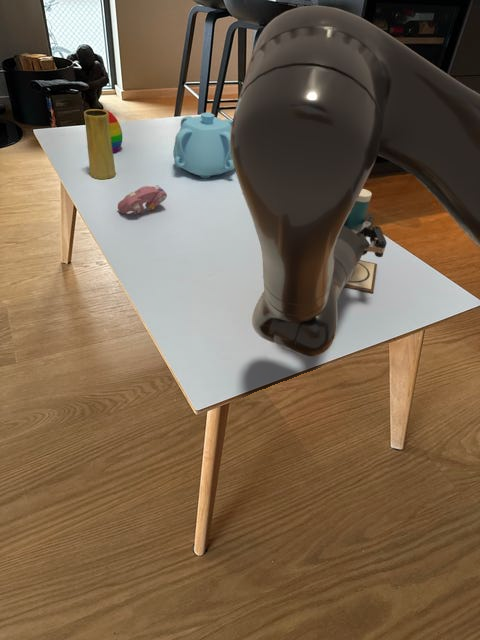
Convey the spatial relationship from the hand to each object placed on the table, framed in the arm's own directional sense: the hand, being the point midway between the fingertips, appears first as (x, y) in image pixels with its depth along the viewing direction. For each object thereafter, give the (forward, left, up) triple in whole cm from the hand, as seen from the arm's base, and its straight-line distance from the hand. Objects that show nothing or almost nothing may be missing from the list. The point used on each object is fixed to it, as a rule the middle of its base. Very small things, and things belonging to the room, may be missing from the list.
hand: (357, 215), depth 82 cm
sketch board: (-1, +2, -11) cm, 11 cm away
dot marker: (0, +3, -8) cm, 8 cm away
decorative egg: (+68, -32, -11) cm, 76 cm away
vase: (+61, -17, -11) cm, 64 cm away
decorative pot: (+40, -32, -11) cm, 53 cm away
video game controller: (+44, -4, -11) cm, 46 cm away
